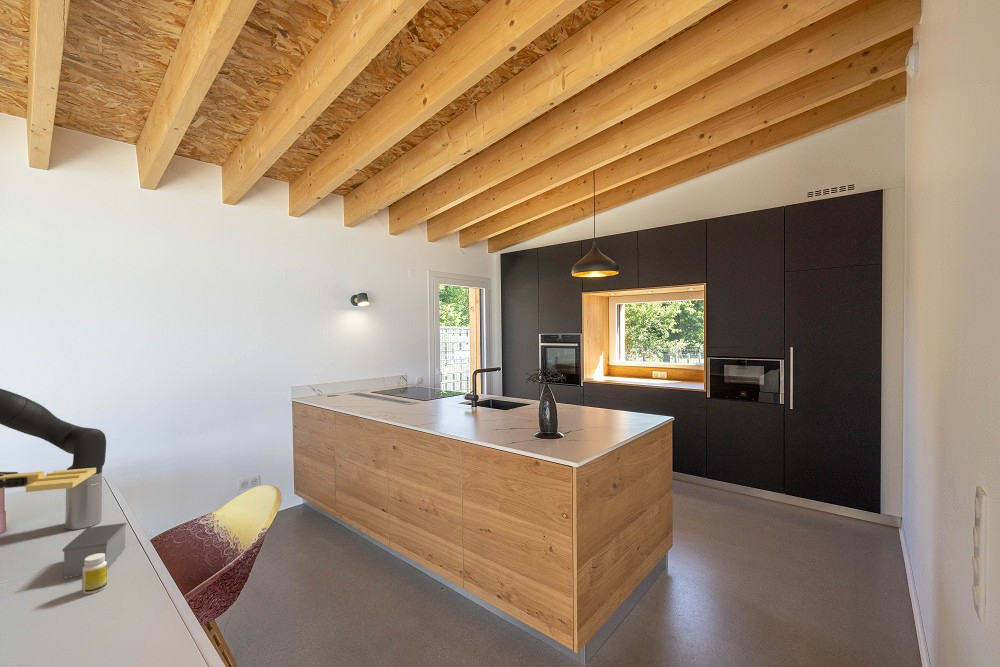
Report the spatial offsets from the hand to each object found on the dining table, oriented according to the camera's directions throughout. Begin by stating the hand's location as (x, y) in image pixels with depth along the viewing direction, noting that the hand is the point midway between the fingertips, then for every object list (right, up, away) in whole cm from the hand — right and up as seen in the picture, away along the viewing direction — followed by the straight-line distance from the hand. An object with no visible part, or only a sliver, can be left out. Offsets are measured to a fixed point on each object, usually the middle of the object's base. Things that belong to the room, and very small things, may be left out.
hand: (29, 479), depth 124 cm
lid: (+3, -2, +1) cm, 3 cm away
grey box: (+13, -26, +6) cm, 30 cm away
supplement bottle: (+25, -26, -8) cm, 37 cm away
